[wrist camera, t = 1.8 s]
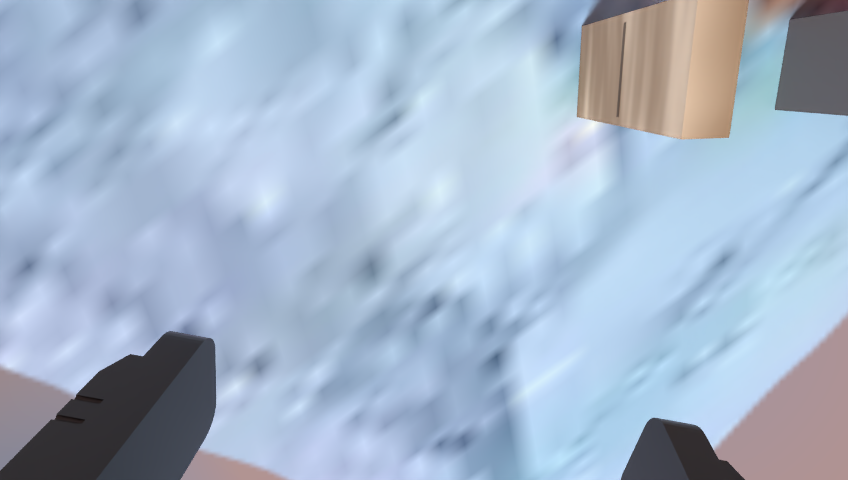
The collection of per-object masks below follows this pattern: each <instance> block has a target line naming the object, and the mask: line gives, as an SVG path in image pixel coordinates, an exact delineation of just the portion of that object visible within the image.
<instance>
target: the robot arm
mask: <svg viewBox="0 0 848 480" xmlns="http://www.w3.org/2000/svg"><path fill="white" fill-rule="evenodd" d="M215 408H216V366H215V344H214V341H213V340H212V339H211V338H206V337H200V336H195V335H189V334H184V333H178V332H173V331H169V332H167V333H165V334H164V335H163V336H162V337H161V338H160V339H159V340H158V341H157V342H156V343H155V344H154V345H153V346H152V348H151V349H150V350H149V351H148V352H147V353H146V354H145V355H144V356H137V355H132V354H130V355H128V356H126V357H124V358H123V359H121V360H119V361H117V362H115V363H114V364H112V365H110V366H108V367H106V368H105V369H103V370H101V371H99V372H98V373H97V374H96V375H95V376H94V377H93V378H92V379H91V380H90V381H89V382H88V383H87V384H86V385H85V386H84V387H83V388H82V389H81V390H80V391H79V392H78V393H77V394H76V398H75V399H74V400H73V399H71V400H70V401H69V402H68V403H67V404H66V405H65V406H64V408H62V410H60V411H59V412H58V413H57V416H56V418H55V420H50V421H49V423H47V424H46V426H44V427H43V428H42V429H41V431H39V432H38V433H37V434H36V436H35V437H33V438H32V440H30V442H29V443H27V445H26V446H24V447H23V449H22V450H20V452H19V453H18V454H17V455H16V456H15V457H14V458H13V459H12V460H11V461H10V462H9V463H8V464H7V465H6V466H5V467H4V468H3V469H2V470H1V471H0V480H180V479H181V478H182V476H183V474H184V473H185V471H186V469H187V468H188V466H189V464H190V463H191V461H192V459H193V458H194V456H195V454H196V453H197V451H198V449H199V448H200V446H201V444H202V443H203V441H204V439H205V438H206V436H207V434H208V432H209V429H210V427H211V424H212V421H213V417H214V413H215ZM621 480H745V479H744V478H743V477H742V476H741V475H740V474H739V473H738V472H737V471H736V470H735V469H734V468H733V467H732V466H731V465H730V464H729V463H728V462H727V461H723V460H719V459H718V457H717V456H716V454H715V452H714V450H713V448H712V447H711V445H710V443H709V441H708V439H707V437H706V436H705V434H704V432H703V431H702V430H701V428H699V427H698V426H696V425H692V424H687V423H681V422H676V421H670V420H665V419H659V418H652V419H650V420H649V421H648V422H647V424H646V425H645V427H644V429H643V432H642V434H641V436H640V438H639V440H638V442H637V444H636V446H635V449H634V451H633V453H632V455H631V457H630V459H629V461H628V464H627V466H626V468H625V470H624V472H623V474H622V477H621Z"/></svg>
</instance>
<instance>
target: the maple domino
mask: <svg viewBox="0 0 848 480" xmlns="http://www.w3.org/2000/svg"><path fill="white" fill-rule="evenodd" d="M748 3H749V0H668V1H665V2H661V3H658V4H654V5H651V6H648V7H644V8H641V9H638V10H634V11H631V12H628V13H624V14H621V15H618V16H614V17H611V18H608V19H604V20H601V21H598V22H594V23H591V24H588V25H584V26H582V35H581V53H580V71H579V89H578V106H577V117H580V118H584V119H589V120H594V121H598V122H603V123H608V124H612V125H617V126H622V127H626V128H631V129H636V130H640V131H645V132H650V133H654V134H659V135H664V136H668V137H673V138H677V139H704V138H729V134H730V127H731V121H732V114H733V107H734V100H735V93H736V86H737V79H738V72H739V65H740V58H741V51H742V44H743V37H744V30H745V23H746V17H747V10H748Z"/></svg>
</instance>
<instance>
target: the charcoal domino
mask: <svg viewBox="0 0 848 480" xmlns="http://www.w3.org/2000/svg"><path fill="white" fill-rule="evenodd" d="M775 110H784V111H797V112H809V113H821V114H834V115H846V116H848V11H842V12H836V13H830V14H823V15H817V16H810V17H804V18H797V19H791V20H790V22H789V28H788V34H787V40H786V46H785V52H784V58H783V64H782V70H781V76H780V81H779V87H778V93H777V99H776V105H775Z"/></svg>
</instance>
